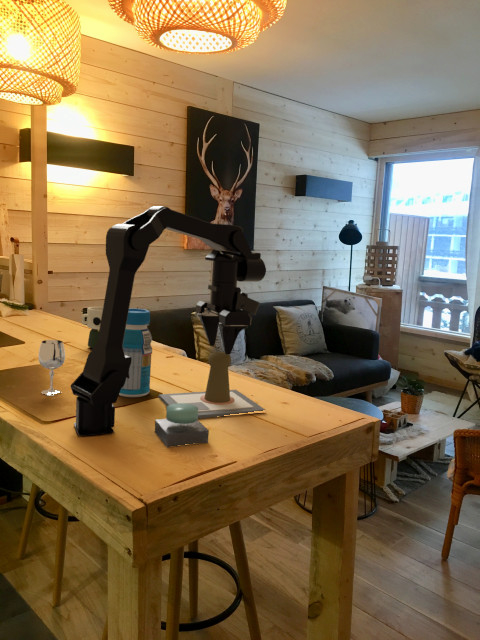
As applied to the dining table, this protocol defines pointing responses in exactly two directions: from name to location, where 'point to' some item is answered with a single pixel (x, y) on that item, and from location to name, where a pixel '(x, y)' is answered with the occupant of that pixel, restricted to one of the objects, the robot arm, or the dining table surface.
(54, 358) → the wineglass
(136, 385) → the beverage bottle
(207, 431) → the button housing
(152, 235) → the robot arm
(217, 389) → the brown tapered upright piece
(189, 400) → the drawing board
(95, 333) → the character mug
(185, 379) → the dining table surface
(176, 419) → the button
